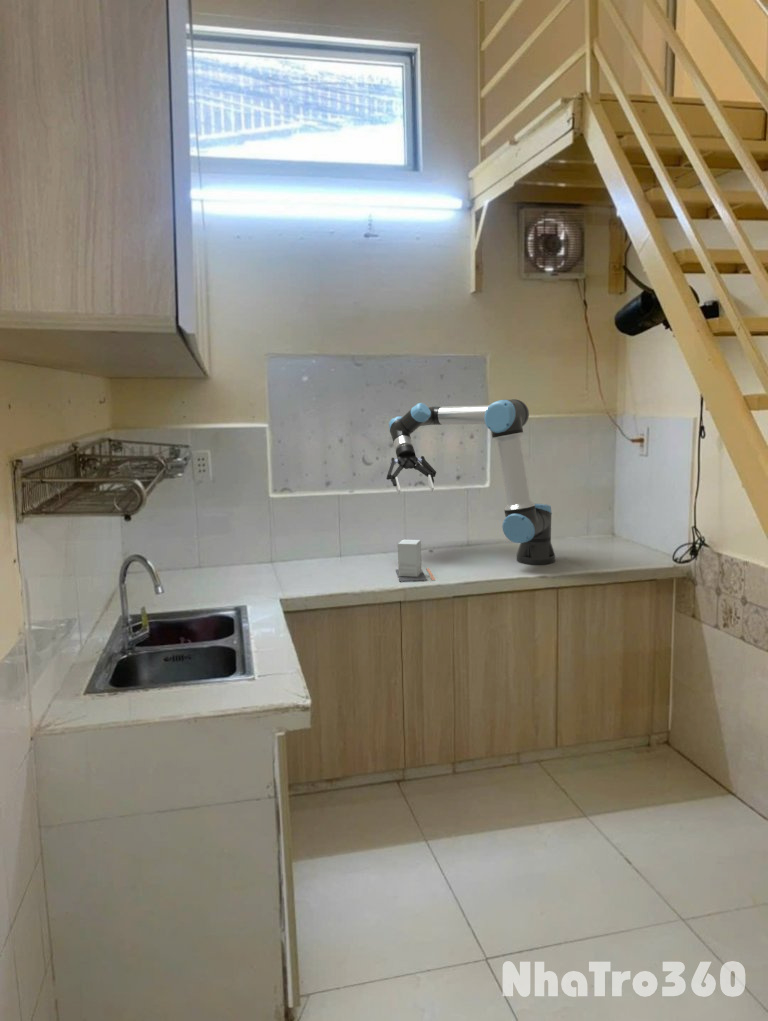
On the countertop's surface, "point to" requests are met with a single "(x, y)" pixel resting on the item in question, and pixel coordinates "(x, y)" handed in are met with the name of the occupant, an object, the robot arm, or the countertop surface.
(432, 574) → the terracotta line
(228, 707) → the countertop surface
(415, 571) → the supplement box
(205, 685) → the countertop surface
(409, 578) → the mat
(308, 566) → the countertop surface
